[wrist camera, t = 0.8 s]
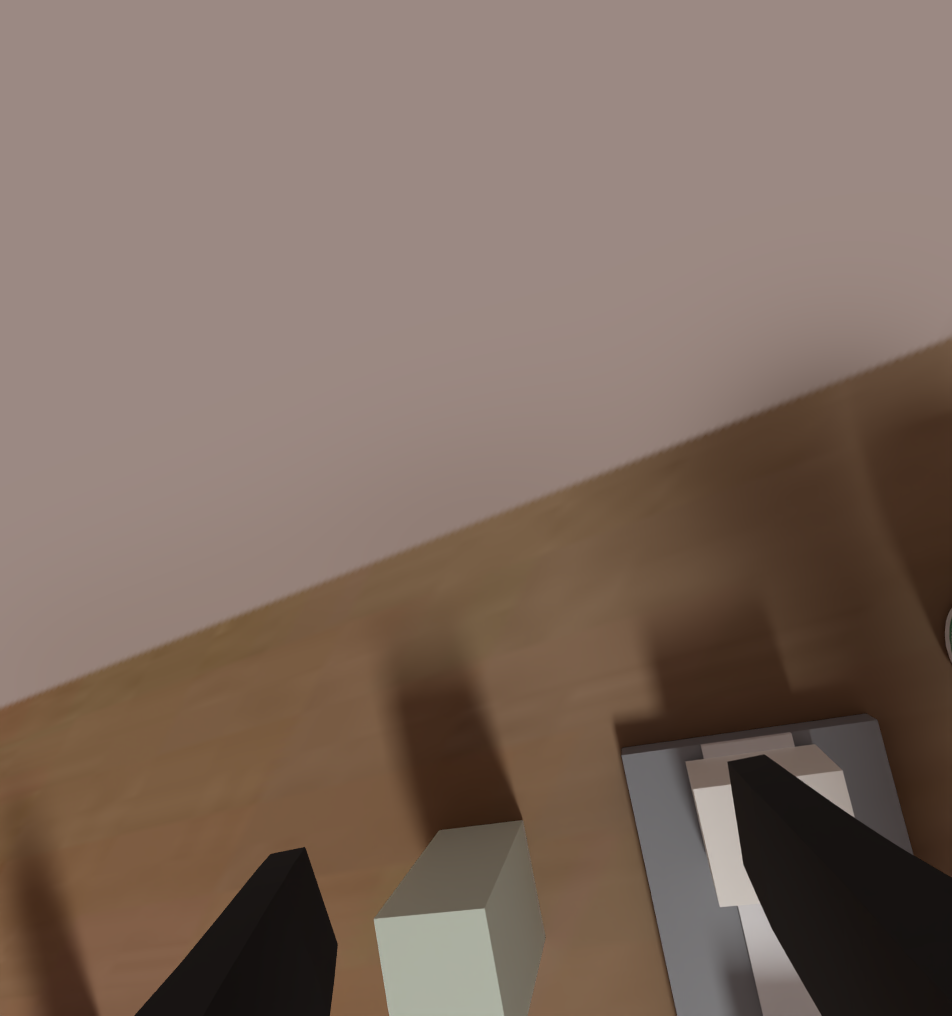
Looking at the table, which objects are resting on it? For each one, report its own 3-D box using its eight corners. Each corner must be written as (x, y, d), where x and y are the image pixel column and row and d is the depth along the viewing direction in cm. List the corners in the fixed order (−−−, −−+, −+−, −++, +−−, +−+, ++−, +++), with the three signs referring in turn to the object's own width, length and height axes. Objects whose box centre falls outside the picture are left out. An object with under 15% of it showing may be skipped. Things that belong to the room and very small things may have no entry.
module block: (545, 937, 29) (514, 1071, 21) (459, 944, 30) (399, 1076, 22) (522, 820, 30) (484, 908, 22) (439, 830, 31) (373, 919, 23)
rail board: (981, 1145, 25) (1066, 1284, 20) (708, 1149, 27) (725, 1277, 22) (867, 713, 27) (918, 745, 22) (621, 748, 29) (620, 783, 24)
